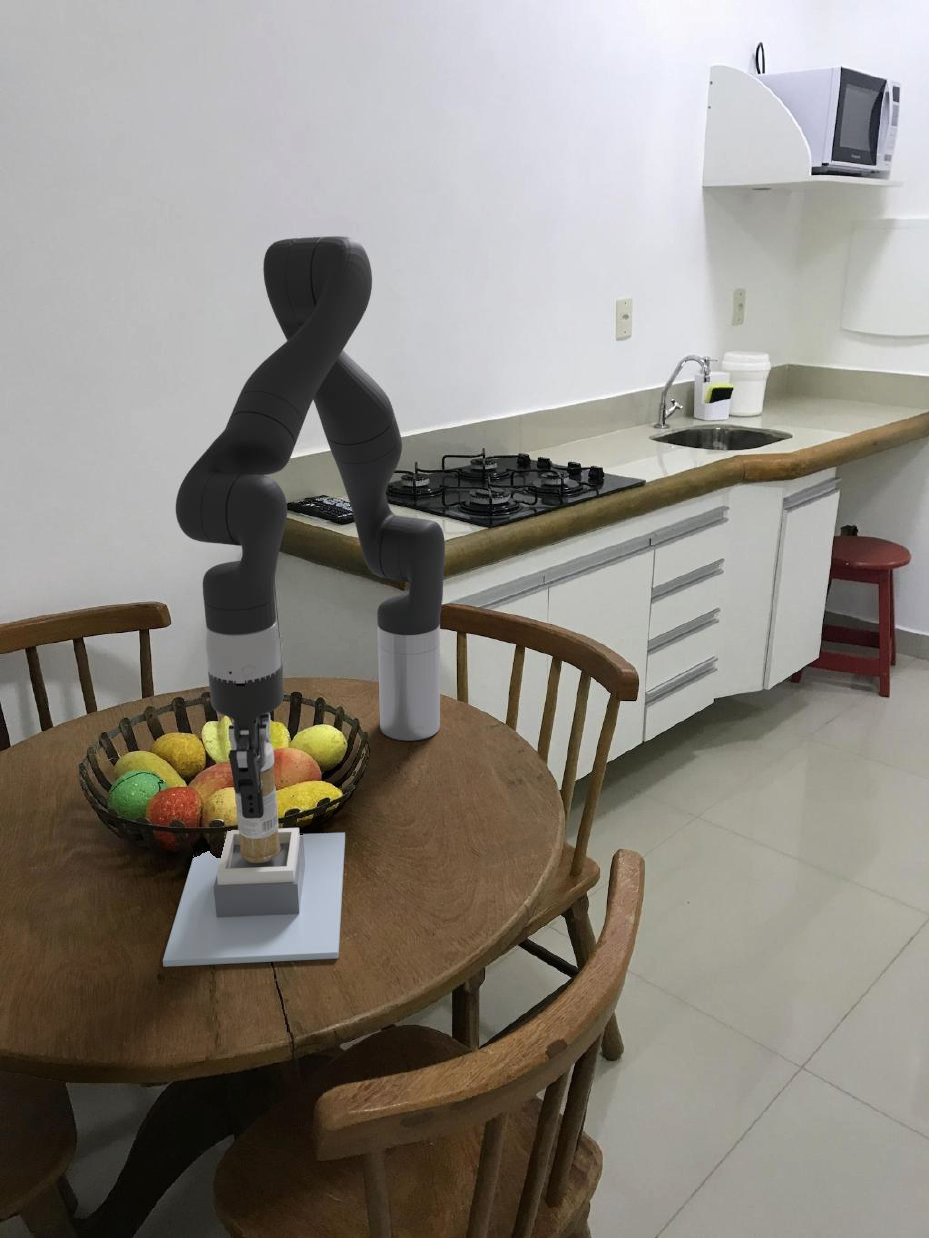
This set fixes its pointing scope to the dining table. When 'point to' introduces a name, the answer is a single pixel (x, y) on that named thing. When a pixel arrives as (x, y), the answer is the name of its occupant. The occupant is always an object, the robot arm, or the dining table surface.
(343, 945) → the dining table surface
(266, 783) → the sprinkles bottle
